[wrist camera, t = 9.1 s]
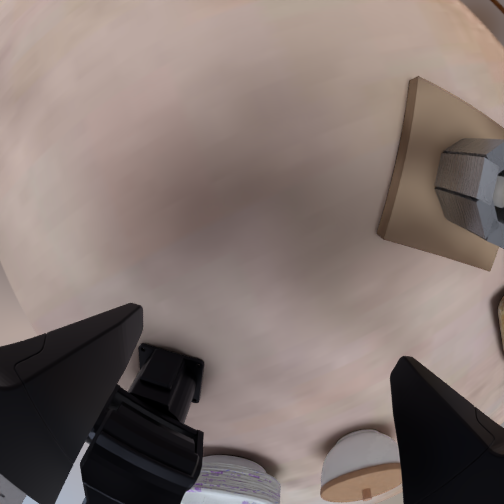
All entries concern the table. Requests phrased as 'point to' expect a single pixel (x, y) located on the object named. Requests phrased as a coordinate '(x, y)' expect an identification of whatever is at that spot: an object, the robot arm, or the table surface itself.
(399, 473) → the lidded jar
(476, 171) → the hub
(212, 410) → the table surface
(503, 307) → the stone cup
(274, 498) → the paper bowls
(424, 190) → the block
